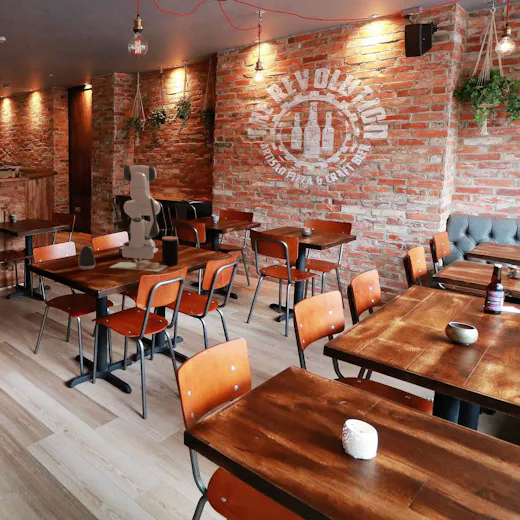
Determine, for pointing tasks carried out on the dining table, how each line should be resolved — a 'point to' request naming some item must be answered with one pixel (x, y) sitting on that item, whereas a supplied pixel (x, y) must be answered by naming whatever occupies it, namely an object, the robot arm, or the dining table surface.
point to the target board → (133, 266)
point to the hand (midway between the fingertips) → (138, 264)
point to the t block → (147, 265)
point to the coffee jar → (170, 250)
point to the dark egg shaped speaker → (86, 258)
